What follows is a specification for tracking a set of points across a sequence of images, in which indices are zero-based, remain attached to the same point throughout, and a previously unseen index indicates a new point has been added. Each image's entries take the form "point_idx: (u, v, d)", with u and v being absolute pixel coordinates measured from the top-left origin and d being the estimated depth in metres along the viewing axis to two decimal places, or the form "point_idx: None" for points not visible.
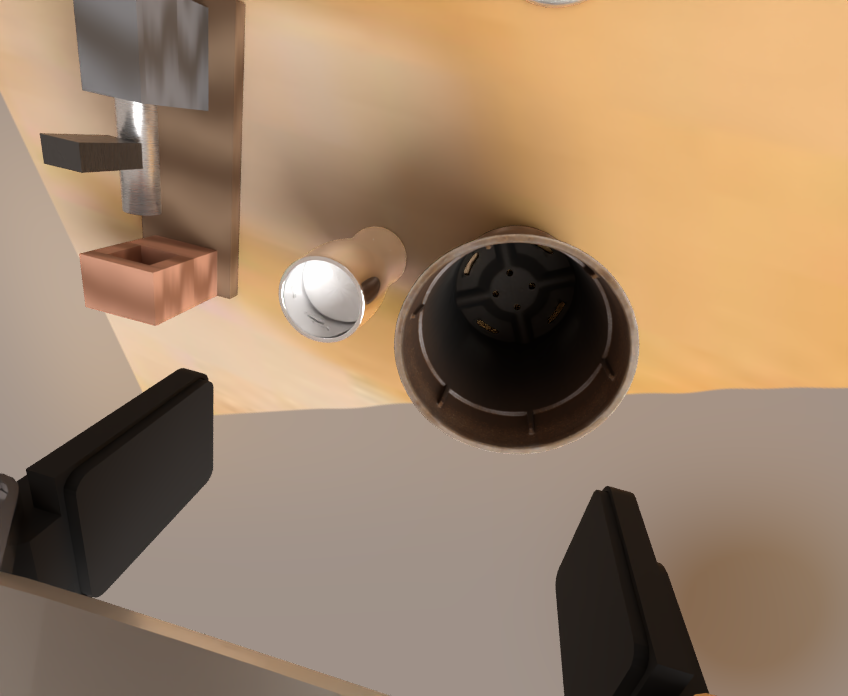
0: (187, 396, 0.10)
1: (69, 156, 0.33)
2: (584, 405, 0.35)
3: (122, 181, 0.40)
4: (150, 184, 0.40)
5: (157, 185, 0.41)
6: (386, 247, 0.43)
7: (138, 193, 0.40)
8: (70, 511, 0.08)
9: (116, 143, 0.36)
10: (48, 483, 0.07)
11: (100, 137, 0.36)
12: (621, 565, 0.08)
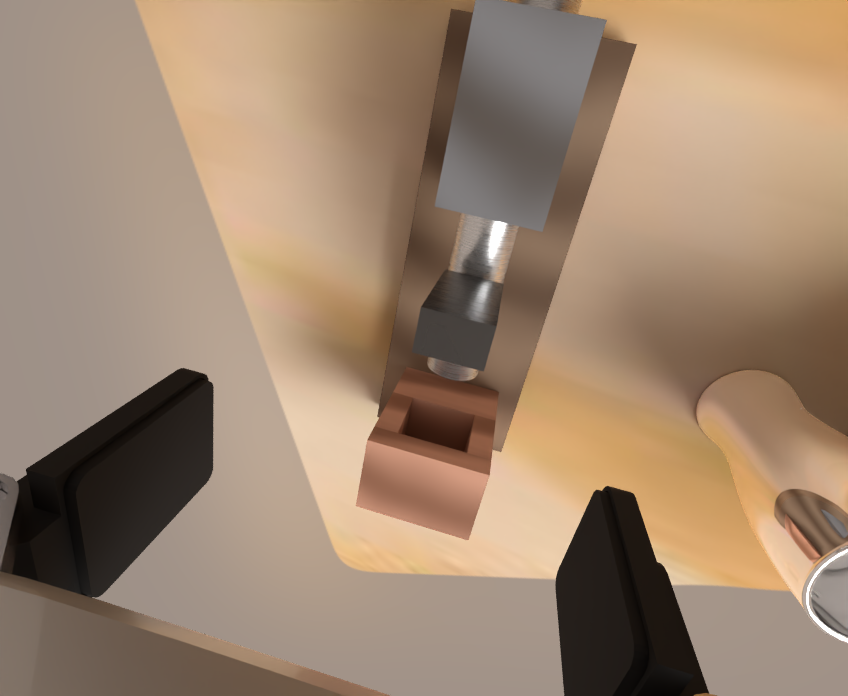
0: (187, 396, 0.10)
1: (467, 346, 0.18)
2: None
3: None
4: None
5: None
6: None
7: None
8: (70, 511, 0.08)
9: (499, 300, 0.21)
10: (48, 483, 0.07)
11: (461, 284, 0.22)
12: (621, 565, 0.08)
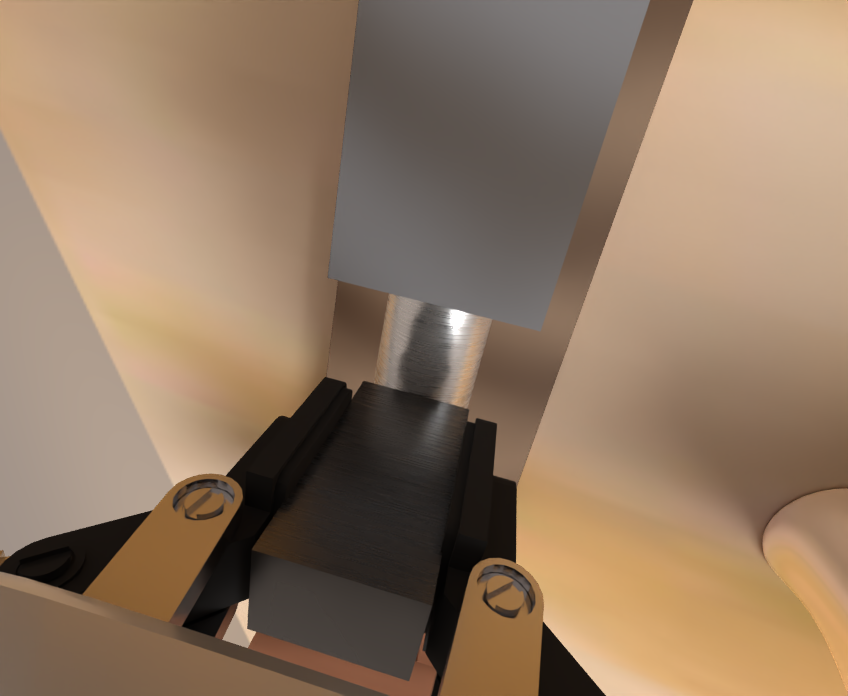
0: (340, 403, 0.11)
1: (368, 633, 0.08)
2: None
3: None
4: None
5: None
6: None
7: None
8: (277, 508, 0.09)
9: (455, 469, 0.10)
10: (265, 483, 0.08)
11: (382, 429, 0.11)
12: (462, 472, 0.10)
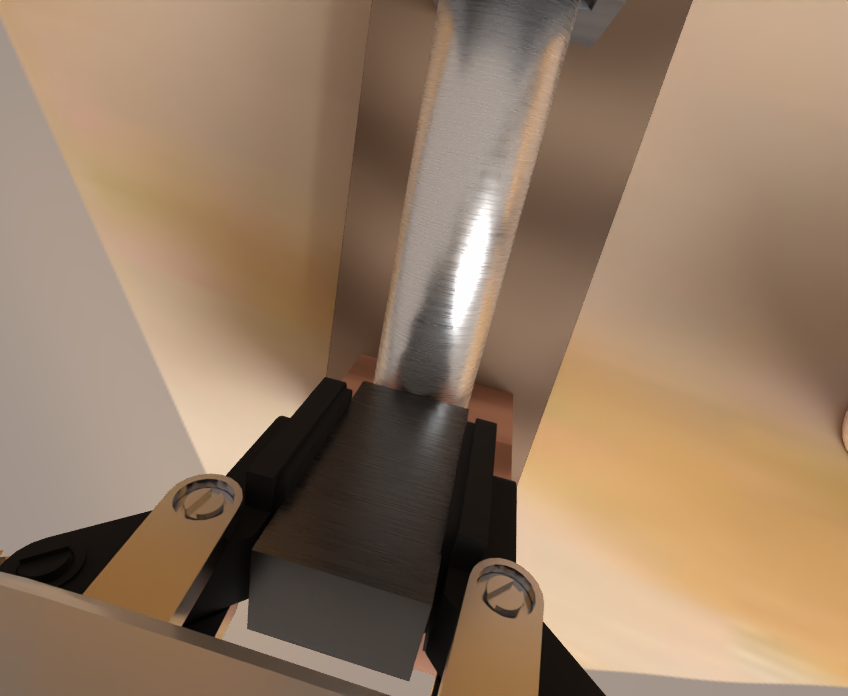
0: (340, 403, 0.11)
1: (367, 633, 0.08)
2: None
3: None
4: None
5: None
6: None
7: None
8: (277, 508, 0.09)
9: (455, 468, 0.10)
10: (265, 483, 0.08)
11: (382, 429, 0.11)
12: (462, 472, 0.10)
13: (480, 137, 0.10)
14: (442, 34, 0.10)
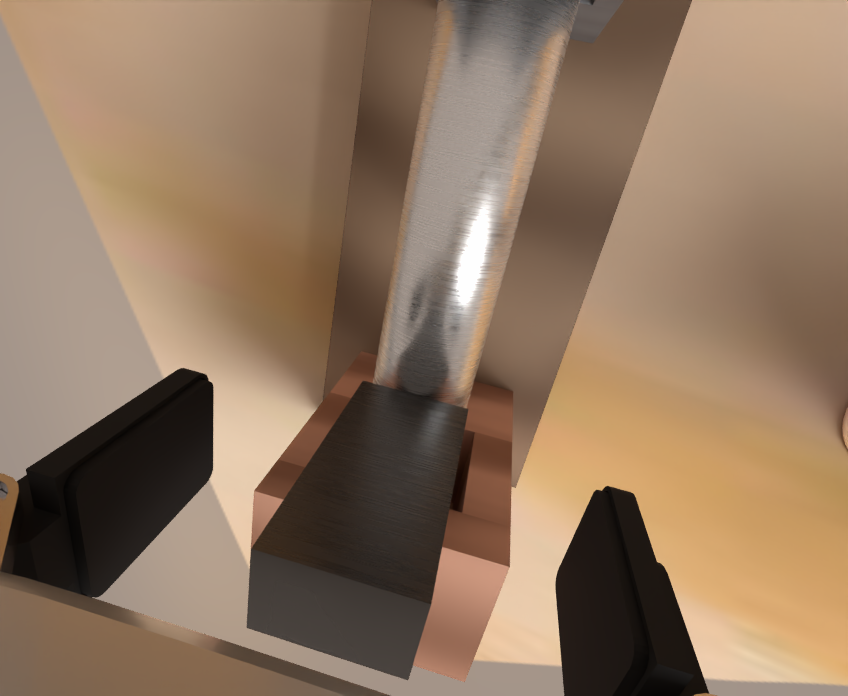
0: (187, 396, 0.10)
1: (367, 632, 0.08)
2: None
3: None
4: None
5: None
6: None
7: None
8: (70, 511, 0.08)
9: (454, 468, 0.10)
10: (48, 483, 0.07)
11: (381, 429, 0.11)
12: (621, 565, 0.08)
13: (479, 138, 0.10)
14: (441, 35, 0.10)
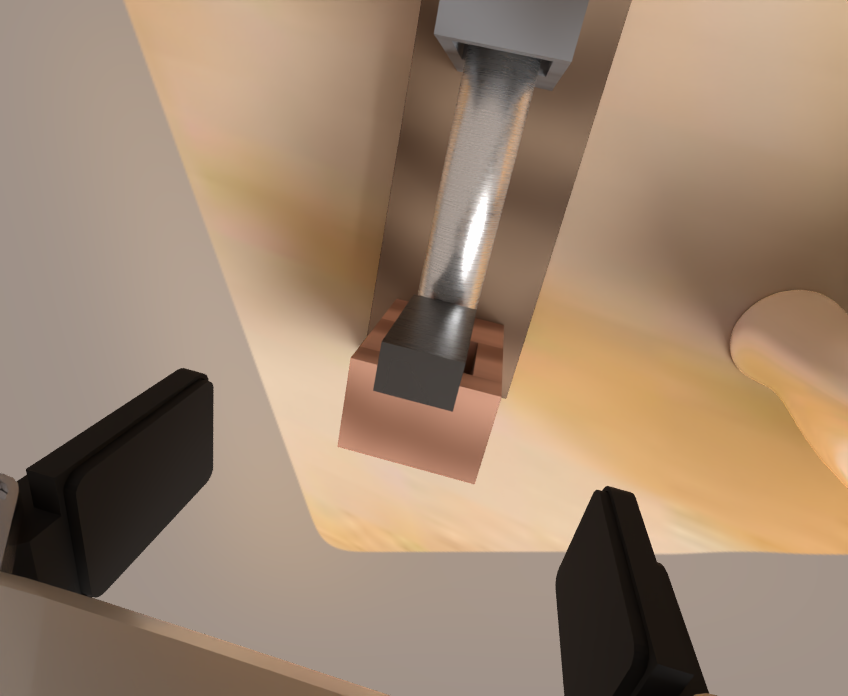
0: (187, 396, 0.10)
1: (434, 384, 0.17)
2: None
3: None
4: None
5: None
6: None
7: None
8: (70, 511, 0.08)
9: (471, 329, 0.19)
10: (48, 483, 0.07)
11: (429, 312, 0.20)
12: (621, 565, 0.08)
13: (484, 151, 0.19)
14: (463, 97, 0.19)
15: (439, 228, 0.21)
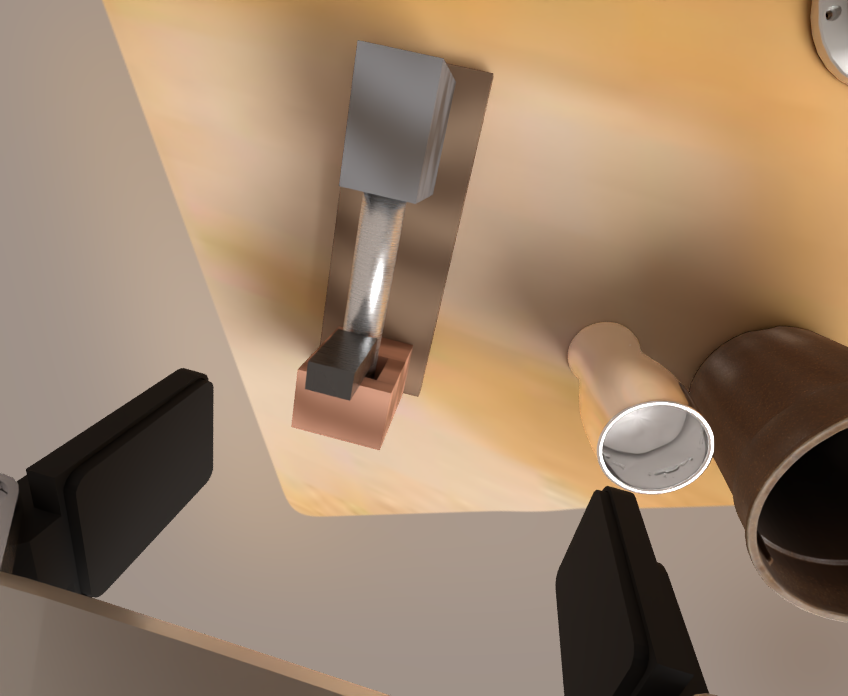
0: (187, 396, 0.10)
1: (338, 385, 0.29)
2: None
3: None
4: (371, 373, 0.36)
5: (375, 370, 0.37)
6: None
7: None
8: (70, 511, 0.08)
9: (368, 352, 0.32)
10: (48, 483, 0.07)
11: (344, 341, 0.33)
12: (621, 565, 0.08)
13: (374, 246, 0.32)
14: (362, 214, 0.32)
15: (352, 289, 0.34)
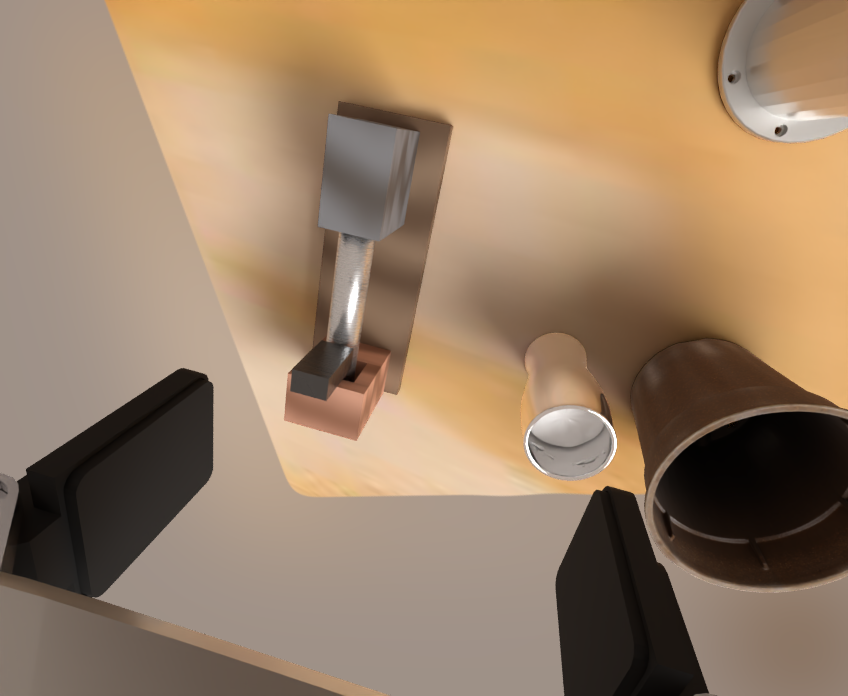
0: (187, 396, 0.10)
1: (316, 388, 0.36)
2: (825, 544, 0.35)
3: None
4: (351, 376, 0.43)
5: (354, 374, 0.44)
6: (582, 361, 0.43)
7: None
8: (70, 511, 0.08)
9: (343, 360, 0.39)
10: (48, 483, 0.07)
11: (324, 351, 0.40)
12: (621, 565, 0.08)
13: (349, 273, 0.39)
14: (338, 247, 0.38)
15: (332, 307, 0.40)
